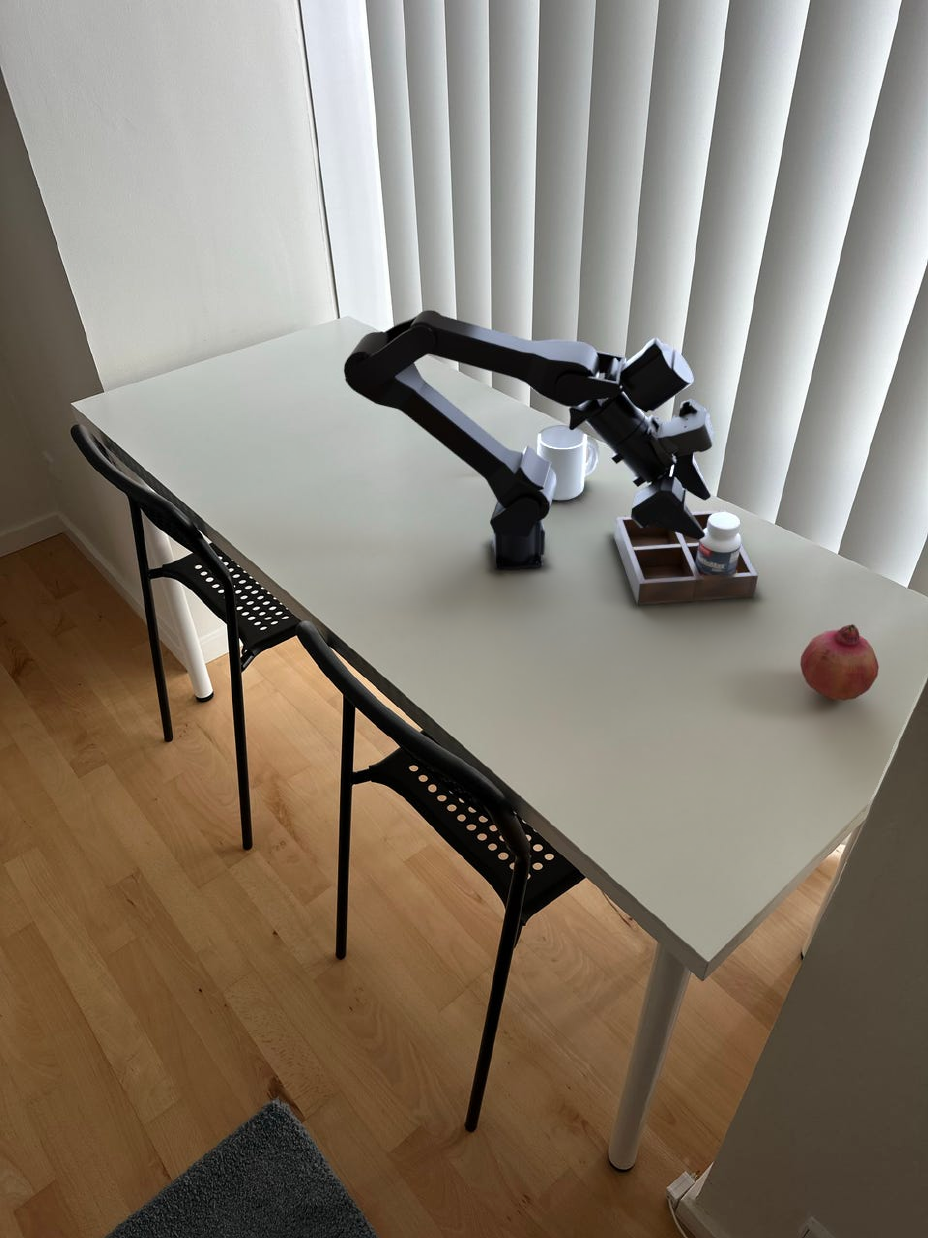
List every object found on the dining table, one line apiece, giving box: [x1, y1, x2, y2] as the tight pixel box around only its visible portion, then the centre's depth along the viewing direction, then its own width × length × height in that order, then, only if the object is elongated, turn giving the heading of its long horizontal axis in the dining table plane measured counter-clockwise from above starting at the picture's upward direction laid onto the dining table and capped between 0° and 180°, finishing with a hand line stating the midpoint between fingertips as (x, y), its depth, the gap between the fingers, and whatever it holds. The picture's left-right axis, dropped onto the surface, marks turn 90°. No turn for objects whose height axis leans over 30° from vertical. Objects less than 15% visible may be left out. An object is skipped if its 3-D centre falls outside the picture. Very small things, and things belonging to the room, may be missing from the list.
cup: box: [536, 424, 600, 501], centre depth 143 cm, size 7×10×9 cm
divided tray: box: [613, 509, 759, 606], centre depth 128 cm, size 15×15×4 cm
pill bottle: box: [695, 511, 742, 576], centre depth 124 cm, size 5×5×9 cm
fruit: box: [799, 623, 879, 701], centre depth 107 cm, size 8×8×10 cm
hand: (705, 517), depth 121 cm, fingers open, 9 cm apart
